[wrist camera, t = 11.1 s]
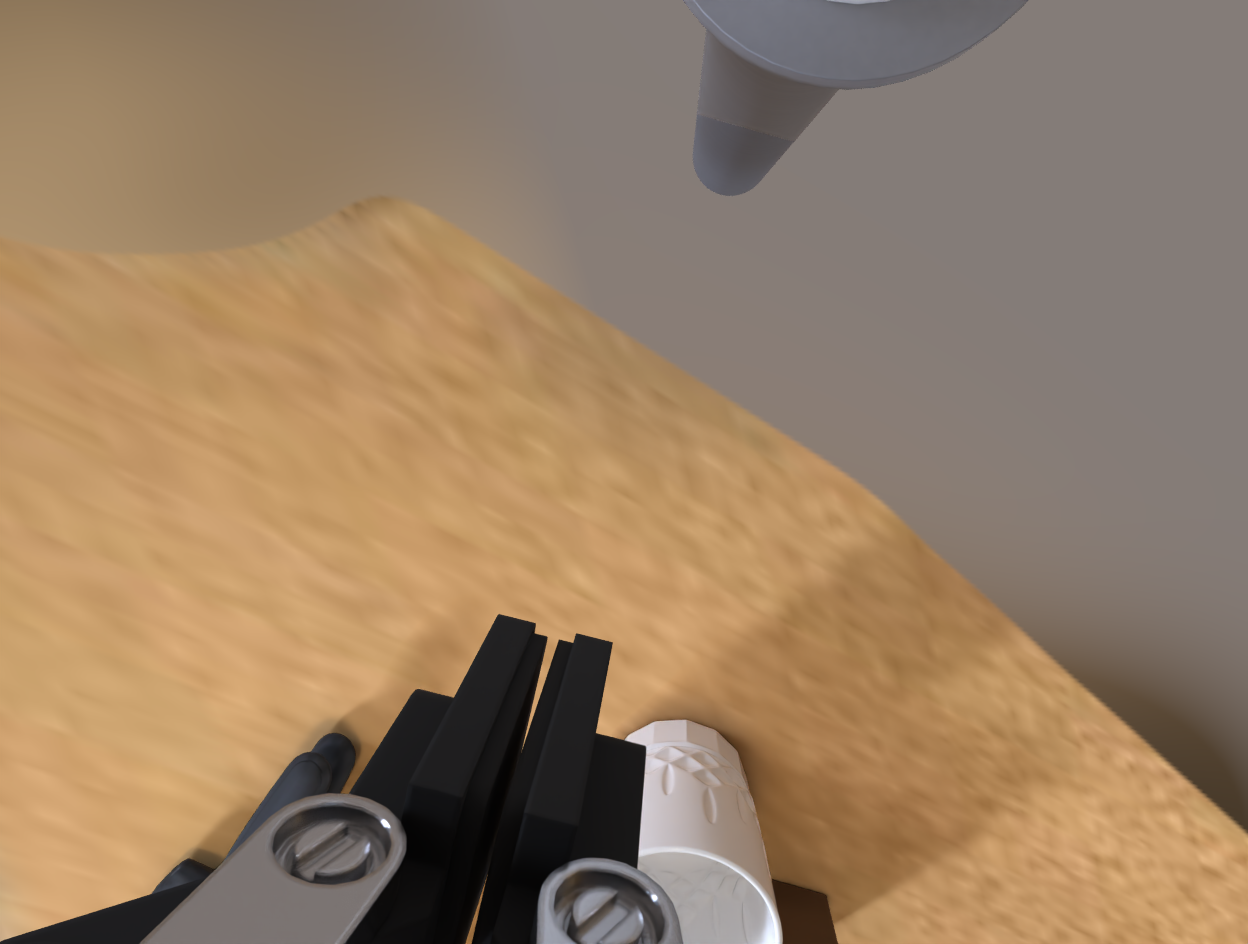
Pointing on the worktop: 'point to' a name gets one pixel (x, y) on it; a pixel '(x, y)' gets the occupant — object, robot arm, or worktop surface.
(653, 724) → the white cup
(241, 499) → the worktop surface
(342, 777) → the can opener
